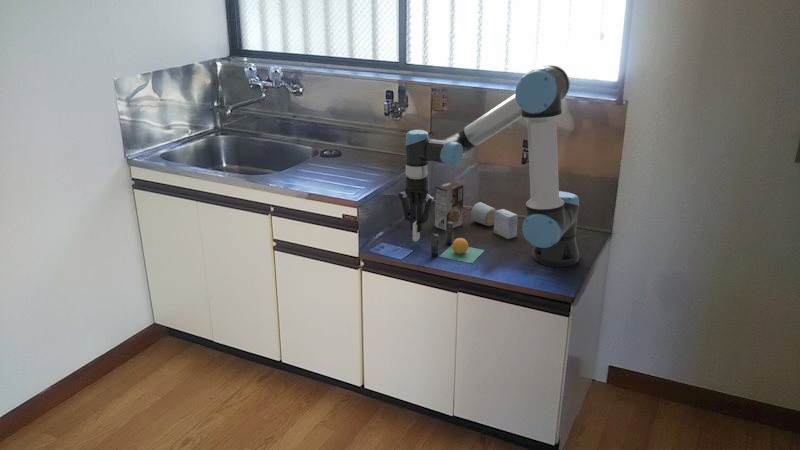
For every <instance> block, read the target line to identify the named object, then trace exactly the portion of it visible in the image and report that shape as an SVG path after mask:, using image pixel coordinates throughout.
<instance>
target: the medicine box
mask: <svg viewBox="0 0 800 450" xmlns="http://www.w3.org/2000/svg"><path fill="white" fill-rule="evenodd" d="M496 210H497V211H495V215H494V225H493V233H494V234H496V235H498V236H501V237H502V238H505V239H507V240H509V239H513V238H516V237H517V236H518V235H517V232H518V230H517V229H518V216H519V215H518V214H517V213H515V212H512V211H510V210H507V209H505V208H502V209H496Z"/></svg>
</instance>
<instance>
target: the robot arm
mask: <svg viewBox="0 0 800 450" xmlns="http://www.w3.org/2000/svg"><path fill="white" fill-rule="evenodd" d="M570 82H571V81H570V78H569V76H568V73H567V71H565V70H564V69H563V68H562V67H560V66H558V65H555V64H547V65H544V66H541V67H540V68H536V69H532V70H530V71H529V72H527V73H525V74H524V75H522V77H521V78H520V79H519V81H518V82H517V84H516V87H515V93H514V94H513V95H510V97H508V98H507V99H505V100H504V101H502V102H501V103H499V104H497V105H496V106H495V107H493V108H491V109H490V110H489V111H487V112H486V113H484V114H482V115H481V116H480V117H478V118H476V119H475V120H474V121H472V122H471V123H469V124H468V125H466V126H465V127H463V128H461V129H460V130H458V131H456V132H455V133H454V134H451V135H450V136H448V137H446V138H443V139H434V138H430V137H429V133H428V131H426V130H424V129H411V130H409V131H407V133H406V134H405V145H404V146H405V189H404V191H401V192H400V193H399V194H398V197H399V199H400V201H401V206H402V209H403V214H404V218H405V221H408V222H409V223H410V228H409V229H410V232H412V242H418V241H419V240H420V238H421V235H420V233H421V232H422V231H423V224H424V223H426V222H427V221H428V219H429V216H430V212H431V211H430V210H431V207H432V205H433V202H435V196H431V195H430V194H429V190H428V187H429V186H428V184H429V183H428V182H429V181H428V172H429V171H428V170H429V169H428V166H429V165H428V164H429V162H430V163H436V164H443V165H446V166H457V165H459V164H460V163H461V162H462V160H463V156H464V155H465V154H468V153H469V152H470V151H472V150H473V149H474V148H476V147H477V146H479V145H480V144H482V143H483V142H486V141H487V140H489V138H492V137H493V136H495V135H496V134H498V133H499V132H501V131H503V130H505V129H506V128H508V127H509V126H511V125H512V124H514V123H515V122H516V121H518V120H520V119H523V120H525V121H526V125H527V144H528V145H527V147H528V168H529V169H528V170H529V191H530V198H529V199H528V200H527V201H526V203H525V206H526V207H525V210H526V217H525V219H524V220H523V223H522V226H521V230H522V231H521V232H522V234H523V236H524V238H525V240H526V241H527V242H529V243H530V244H531V245H532V246H533V249H532V250H533V252H532V258H533V260H535V262H537V263H540V264H542V265H544V266H548V267H552V268H553V267H554V268H564V267H565V268H566V267H573V266H575V265H577V264H578V262H579V260H580V252H579V247H578V243H577V240H576V235H577V224H578V215H579V207H580V198H579V196H578V195H577V194H574V193H572V192H568V191H561V190H559V189H560V185H559V184H560V183H559V181H560V180H559V157H558V150H559V149H558V129H557V128H558V127H557V126H558V123H557V120H558V119H559V118H560V117H561V115H562V100H563V99H564V98H565V97H566V96H567V94H568V93H569V89H570ZM425 199H426V200H425ZM424 201H426V203H425V205H424ZM423 209H424V210H423Z"/></svg>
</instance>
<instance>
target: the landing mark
mask: <svg viewBox="0 0 800 450" xmlns="http://www.w3.org/2000/svg"><path fill="white" fill-rule="evenodd" d="M485 251H486V250H485V249H481V248H475V247H471V246H470V247H469V246H468V250H467V251H466V252H465V253H463V254H457V253H455V252H454V250H453V248H452V245H449V247H448V248H447V249H445V250H444V251H443V252H442V253H441V254H440V255H438V258H441V257H442V258H441V259H445V260H452V261H456V260H457V262H461V261H462V262H461V263H466V262H467V263H466V264H471V263H472V264H473V263H475V261H476V260H478V258H479V257H480V256H482V254H483V253H484V252H485Z"/></svg>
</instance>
